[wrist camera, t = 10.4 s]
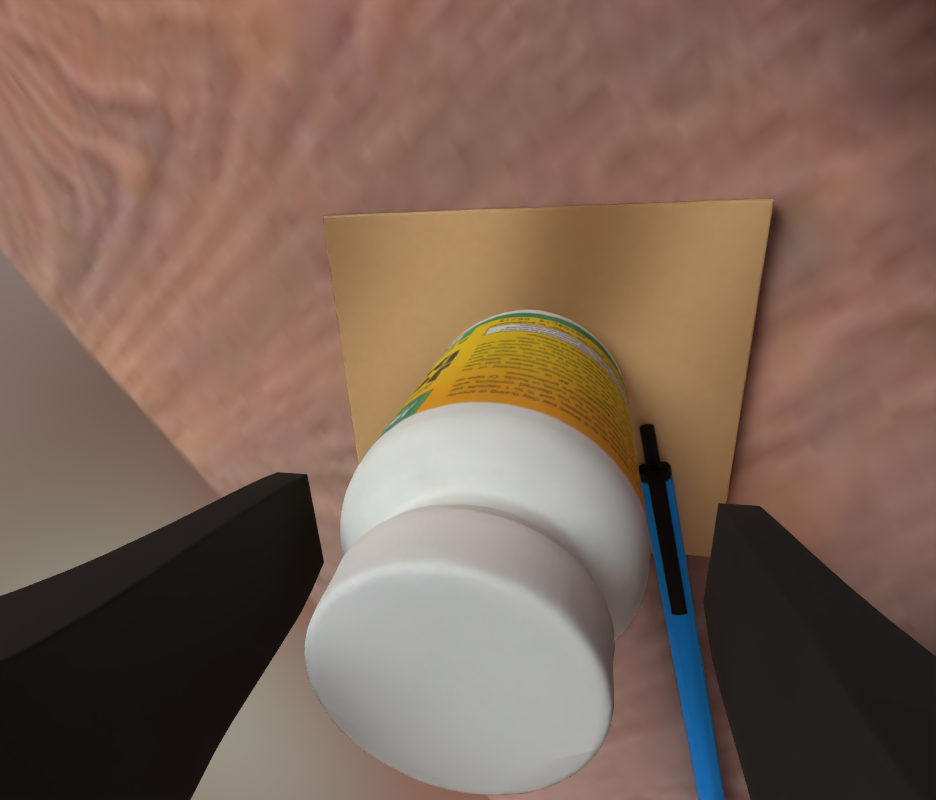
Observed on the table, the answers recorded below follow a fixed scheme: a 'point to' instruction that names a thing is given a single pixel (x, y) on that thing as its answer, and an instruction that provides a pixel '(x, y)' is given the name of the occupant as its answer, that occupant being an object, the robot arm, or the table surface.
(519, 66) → the table surface
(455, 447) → the supplement bottle
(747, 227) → the cork mat
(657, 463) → the pen
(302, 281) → the table surface
